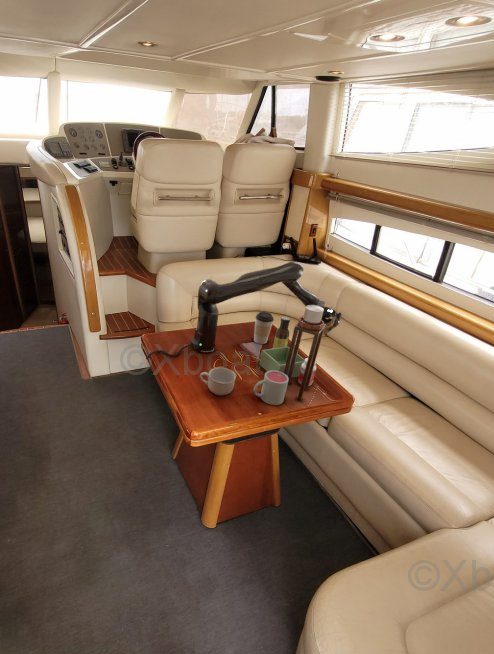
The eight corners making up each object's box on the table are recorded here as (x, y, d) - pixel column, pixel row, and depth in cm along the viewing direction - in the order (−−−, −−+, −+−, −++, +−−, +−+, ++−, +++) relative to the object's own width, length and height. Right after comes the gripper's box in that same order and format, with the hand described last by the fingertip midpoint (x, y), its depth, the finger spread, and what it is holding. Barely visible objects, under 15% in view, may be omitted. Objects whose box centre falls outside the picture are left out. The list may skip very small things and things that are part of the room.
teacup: (235, 387, 158) (238, 371, 154) (229, 401, 149) (232, 384, 145) (203, 379, 161) (205, 363, 157) (195, 393, 152) (197, 375, 148)
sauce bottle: (286, 359, 183) (295, 321, 173) (274, 360, 181) (282, 321, 172) (281, 353, 188) (289, 315, 178) (269, 353, 187) (277, 315, 177)
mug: (275, 390, 159) (280, 369, 154) (288, 403, 152) (293, 381, 147) (246, 394, 154) (250, 373, 150) (257, 408, 147) (261, 386, 142)
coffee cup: (268, 337, 202) (273, 311, 195) (269, 345, 194) (275, 318, 187) (251, 335, 202) (256, 309, 195) (251, 343, 195) (256, 316, 187)
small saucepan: (311, 311, 157) (315, 296, 153) (327, 315, 154) (332, 300, 151) (299, 324, 143) (303, 308, 140) (317, 329, 141) (321, 313, 138)
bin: (276, 380, 166) (280, 365, 162) (259, 364, 177) (261, 350, 173) (303, 375, 171) (307, 361, 167) (284, 360, 182) (287, 346, 178)
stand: (286, 381, 165) (303, 313, 150) (307, 389, 162) (327, 319, 146) (278, 393, 157) (295, 321, 142) (300, 401, 154) (320, 328, 138)
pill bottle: (306, 378, 170) (312, 356, 164) (314, 385, 165) (321, 363, 159) (294, 379, 167) (300, 357, 162) (302, 387, 163) (308, 364, 157)
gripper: (312, 305, 177) (308, 296, 162) (344, 313, 171) (343, 305, 156) (307, 320, 177) (302, 313, 162) (338, 329, 171) (337, 322, 156)
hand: (322, 309), depth 159 cm, fingers open, 8 cm apart
